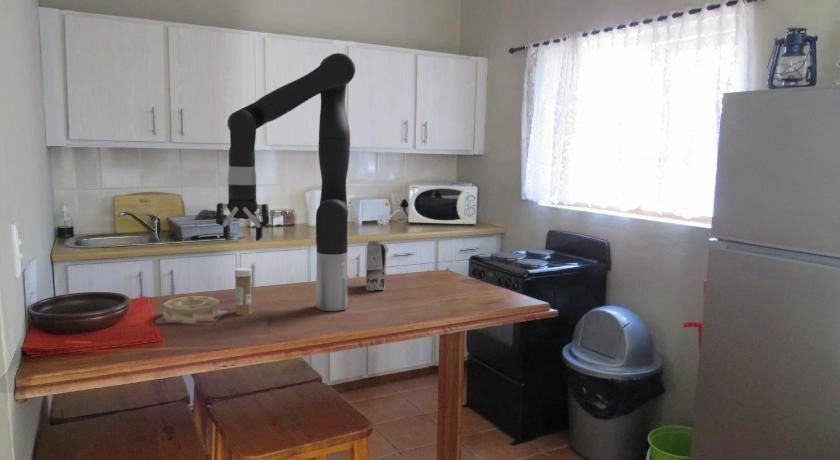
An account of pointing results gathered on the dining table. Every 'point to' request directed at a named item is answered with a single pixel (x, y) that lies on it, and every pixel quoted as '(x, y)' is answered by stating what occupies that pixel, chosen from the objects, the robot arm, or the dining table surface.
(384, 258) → the coffee box
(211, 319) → the reddish pink rod
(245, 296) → the sprinkles bottle
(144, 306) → the dining table surface
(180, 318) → the octagonal faceted ring
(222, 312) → the mat
